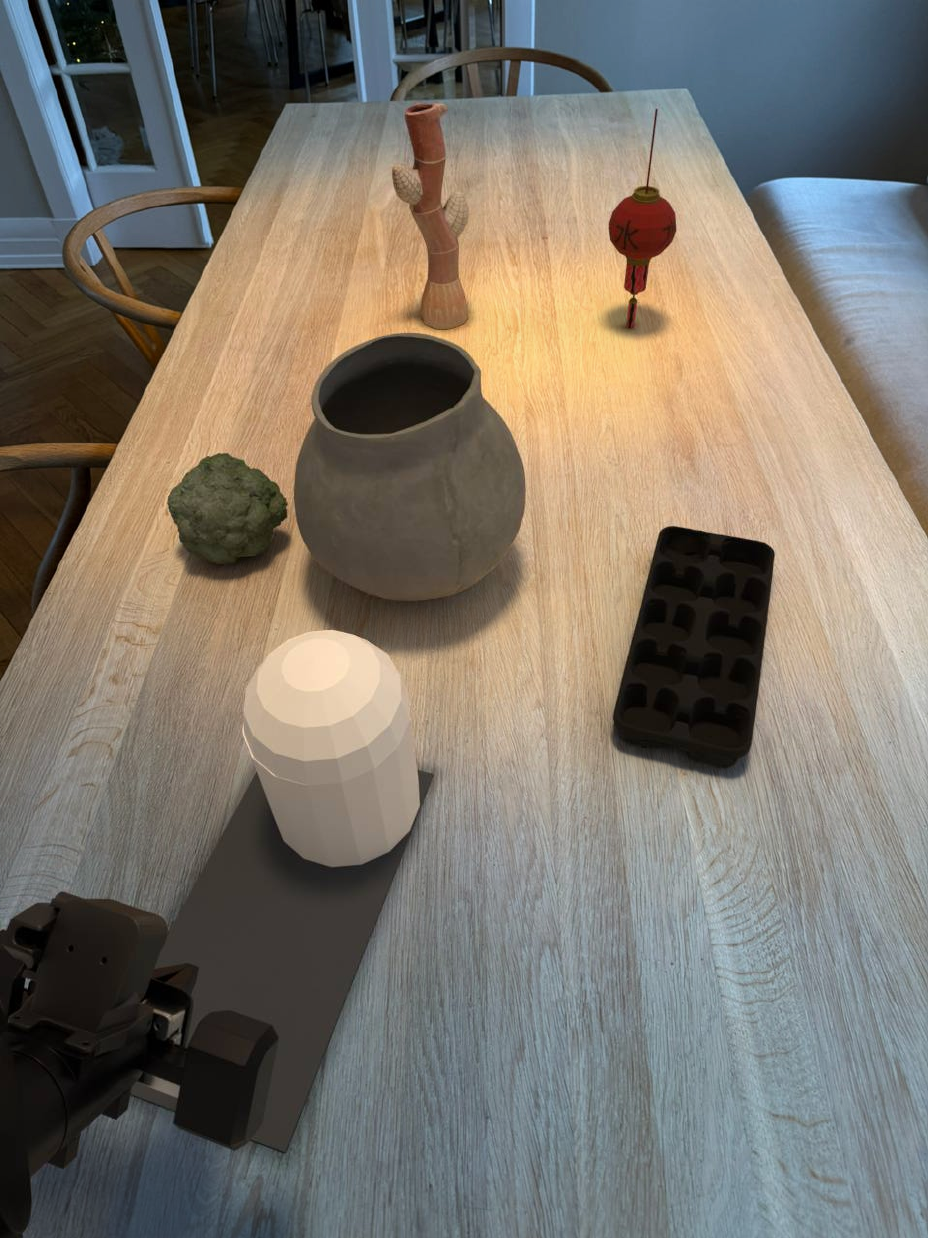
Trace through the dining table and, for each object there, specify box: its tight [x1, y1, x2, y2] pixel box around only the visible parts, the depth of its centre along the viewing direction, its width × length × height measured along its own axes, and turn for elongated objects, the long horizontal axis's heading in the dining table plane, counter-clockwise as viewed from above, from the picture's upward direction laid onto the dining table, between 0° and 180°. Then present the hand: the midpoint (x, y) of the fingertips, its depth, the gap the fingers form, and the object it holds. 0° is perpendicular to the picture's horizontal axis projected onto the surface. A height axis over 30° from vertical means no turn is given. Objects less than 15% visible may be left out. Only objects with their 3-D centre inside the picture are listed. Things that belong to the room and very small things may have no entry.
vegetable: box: [166, 452, 289, 565], centre depth 101 cm, size 12×13×15 cm
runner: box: [130, 769, 435, 1154], centre depth 73 cm, size 32×16×1 cm, turn 162°
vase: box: [391, 102, 469, 330], centre depth 125 cm, size 10×7×30 cm
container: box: [242, 629, 420, 867], centre depth 73 cm, size 13×13×20 cm
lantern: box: [608, 108, 677, 330], centre depth 122 cm, size 10×10×30 cm
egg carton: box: [612, 525, 776, 769], centre depth 89 cm, size 18×30×4 cm, turn 174°
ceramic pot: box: [293, 332, 527, 602], centre depth 91 cm, size 24×24×25 cm
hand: (192, 971), depth 57 cm, fingers closed
